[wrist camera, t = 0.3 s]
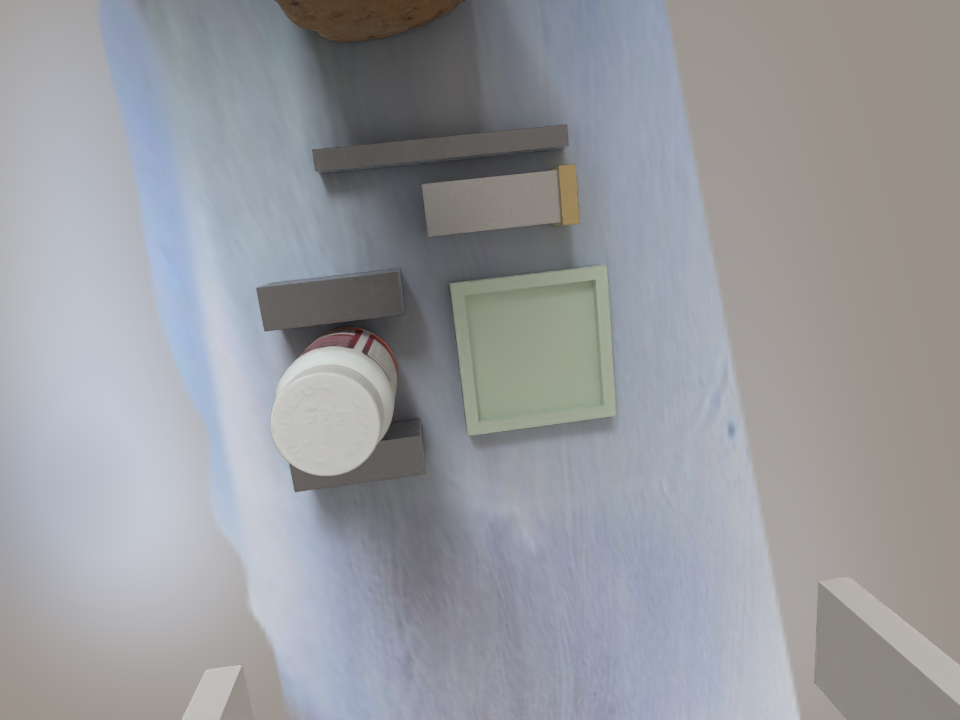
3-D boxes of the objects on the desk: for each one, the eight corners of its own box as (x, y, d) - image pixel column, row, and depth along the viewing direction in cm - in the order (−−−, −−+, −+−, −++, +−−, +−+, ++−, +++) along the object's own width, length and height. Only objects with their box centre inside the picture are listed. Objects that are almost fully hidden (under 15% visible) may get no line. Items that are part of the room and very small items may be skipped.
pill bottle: (287, 392, 39) (234, 455, 28) (327, 308, 38) (289, 339, 27) (373, 432, 40) (356, 507, 29) (415, 350, 39) (413, 397, 28)
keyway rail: (316, 152, 36) (312, 149, 35) (561, 128, 37) (567, 124, 36) (319, 173, 36) (315, 171, 35) (562, 149, 37) (568, 145, 36)
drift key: (421, 183, 37) (421, 180, 34) (564, 169, 38) (575, 164, 35) (428, 239, 38) (428, 240, 35) (568, 224, 38) (579, 223, 36)
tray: (449, 282, 38) (450, 284, 37) (601, 264, 39) (607, 265, 38) (466, 430, 41) (468, 435, 39) (610, 410, 41) (616, 415, 40)
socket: (271, 283, 37) (256, 287, 34) (399, 268, 38) (397, 271, 34) (305, 469, 40) (294, 491, 37) (424, 453, 41) (425, 473, 37)
